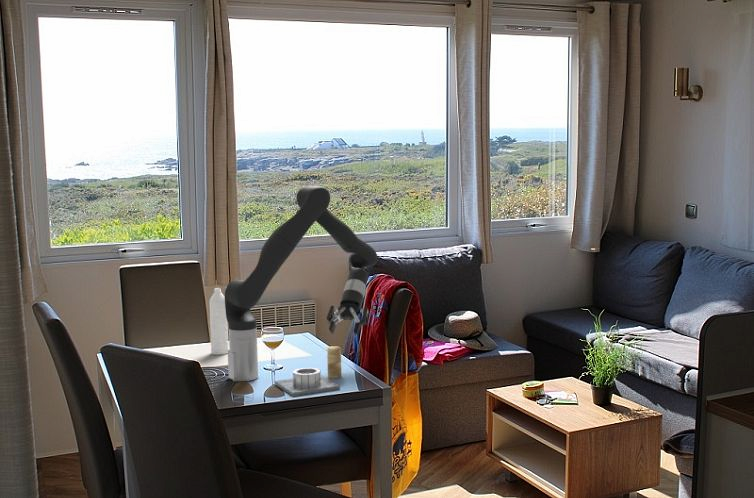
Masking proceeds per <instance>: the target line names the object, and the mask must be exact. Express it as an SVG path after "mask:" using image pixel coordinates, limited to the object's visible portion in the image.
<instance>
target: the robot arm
mask: <svg viewBox="0 0 754 498" xmlns="http://www.w3.org/2000/svg"><path fill="white" fill-rule="evenodd" d="M295 196H296V197H295V198H296V204H297V205H298V208H299V210H298V211H297V212H295V214H293V216H291V217H290V218H289V219H287V220H286V221H284V222H283V223H282V224H281V225H279V226H278V227H277V228H275V230H274V231H272V233H271V234H270V235H269V237H268V238H267V239H266V241H265V242H264V244H263V246H262V247H261V250H260V254H259V257H258V258H259V259H258V261H257V264H256V267H255V268H254V269H253V271H252V272H251V273H250V274H249V276H248V277H246V279H245V280H243V279H234V280H231V281H230V282H228V284H227V286H225V291H224V297H225V310H226V319H227V322H228V348H229V350H228V353H227V368H228V378H229V379H230V380H231V381H233V382H248V381H254V380H256V379H258V378H259V362H258V335H257V334H258V332H257V330H258V329H257V327H258V325H257V319H256V318H255V317H254V315H253V314H252V311H251V309H253V307H255V306H256V305H257V304H258V302H259V300H261V298H262V296H263V295H264V293H265V291H266V289H267V287H268V286H269V284H270V282H271V281H272V280H273V278H274V277H275V276H276V274H277V273H278V271H280V268H281V267H282V265H284V263H285V262H286V261H287V260H288V258H289V257H290V256H291V254H292V253H293V251H294V250H295V249H296V248H297V245H298V244H299V243H300V242H301V240H302V239H303V238H304V236H305V235H306V234H307V232H308V231H309V229H310V228H311V227H312V226H313V225H314V223H315V222H316V223H317V224H318V225H320V226H321V228H323V230H325V231H326V232H327V233H328V235H329V236H331V238H332V239H333V240H334V241H335V242H336V244H337V245H338V246H339V247H340V248H341V249H342V250H343V251H344V252H345V253H348V254H350V255H349V257H348V277H347V281H346V283H345V286H344V288H343V292H342V295H341V298H340V302H339V303H340V305H339V306H338V307H336V306H335V307H334V305H331V306H330V307H329V310H328V313H327V316H326V320H327V322H328V324H329V328H328V329H329V330H328V331H330V333H331V334H335V330H336V327H337V324H338V323H340V322H342V321H346V320H348V321H353V320H354V321H355V324H354V328H353V332H352V333H353V335H354V336H357V335H358V334H359V333H360V329H361V327H362V325H363V326H366V325H367V324H368V318H369V313H370V311H369V309H368V307H365V306H364V307H363V308H362V305H363V301H364V299H365V295H366V287H367V283H368V279H369V273H368V271H367V270H366V269H367V268H369V267H374V266H375V265H376V264H377V263H378V254H377V252H376V250H375V249H374V247H372V246H371V245H369V243H367V242H365V241H363V239H360V238H359V237H358V235H356V233H355V232H354V231H353V230H352V229H351V228H350V227H349V226H348V225H347V224H346V223H345V221H343V220H341V219H340V218H339V217H337V216H336V215H335V214H333V213H332V212H331V211H330V210H329V209H328V207H329V205H330V203H331V193H330V192H329V190H328V189H327V188H325V187H323V186H318V185H315V186H314V185H308V186H303V187H301V188H300V189H299V190H298V191H297V193H296V195H295ZM360 314H362V317H361V319H360V318H359V317H358V316H359V315H360Z"/></svg>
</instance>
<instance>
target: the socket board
mask: <svg viewBox="0 0 754 498" xmlns="http://www.w3.org/2000/svg"><path fill="white" fill-rule="evenodd" d="M274 385H275V386H277V387H278V388H279V389H281V390H283V391H284V392H285V393H287V394H289V395H291V396H292V397H298V396H306V395H312V394H318V393H325V392H331V391H338V390H341V385H339V384H337V383H336V382H334V381H332V380H330V378H328V377H325V376H323V375H321V370H320V369H318V368H314V367H301V368H297V369H294V370H293V371H292V378H287V379H280V380H274Z"/></svg>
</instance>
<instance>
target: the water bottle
mask: <svg viewBox="0 0 754 498" xmlns="http://www.w3.org/2000/svg"><path fill="white" fill-rule="evenodd" d="M213 291H214V292H213V293H212V295H211V297H210V299H209V303H208V304H209V320H210V321H209V326H210V327H209V329H210V330H209V331H210V346H211V347H210V353H211V354H212V355H217V356H220V355H228V350H230V348H229V324H228V321H227V319H226V310H225V294H223V293H222V290H221V287H215V288H214V290H213Z"/></svg>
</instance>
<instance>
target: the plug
mask: <svg viewBox="0 0 754 498" xmlns="http://www.w3.org/2000/svg"><path fill="white" fill-rule="evenodd" d="M326 348H327V349H326V351H327V356H326V358H327V379H333V380H334V379H340V378H342V347H341V346H338V345H336V346H335V345H333V346H332V345H331V346H328V347H326Z"/></svg>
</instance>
